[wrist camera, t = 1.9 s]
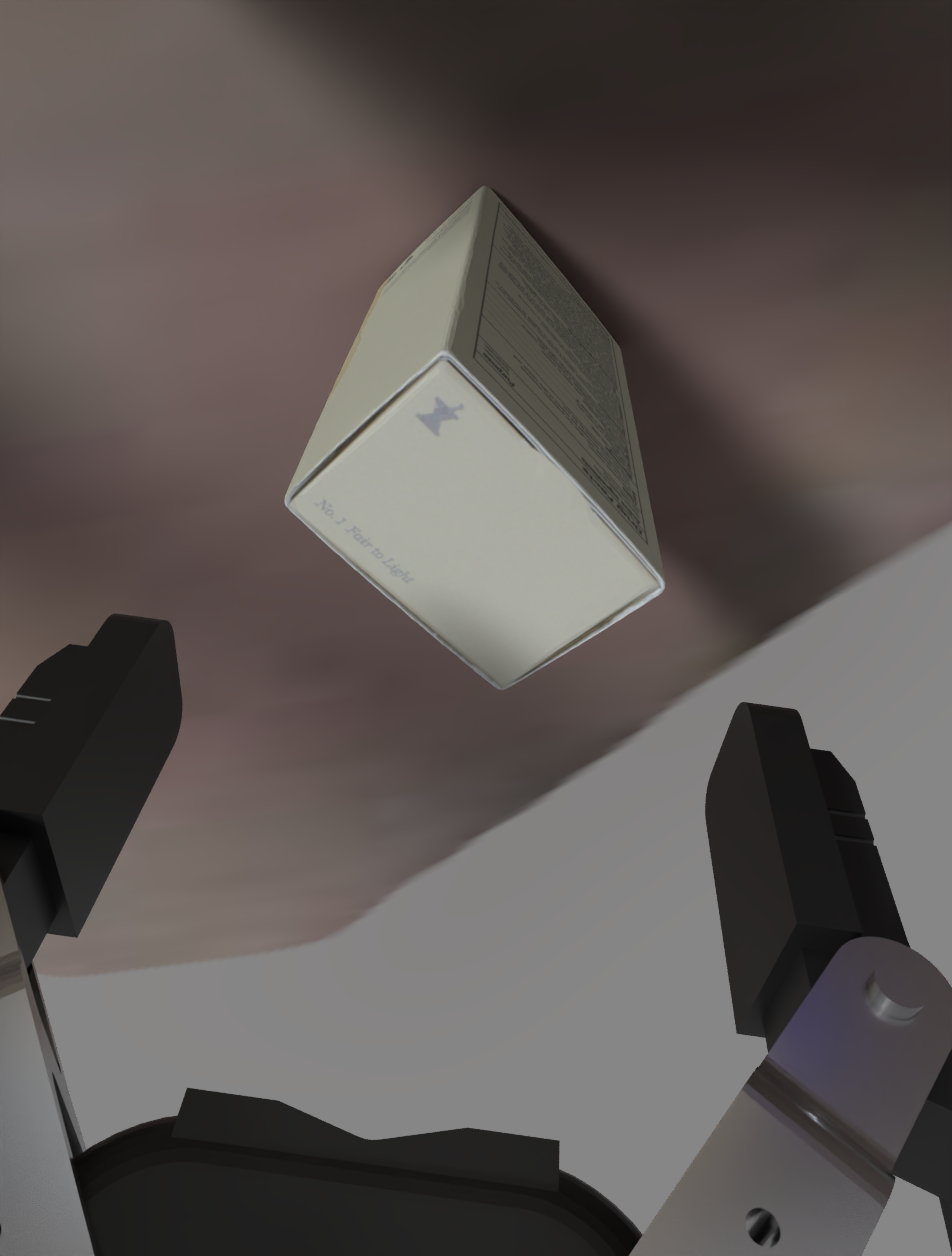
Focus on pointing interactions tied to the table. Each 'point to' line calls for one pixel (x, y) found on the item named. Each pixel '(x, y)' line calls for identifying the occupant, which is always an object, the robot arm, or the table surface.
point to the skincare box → (485, 453)
